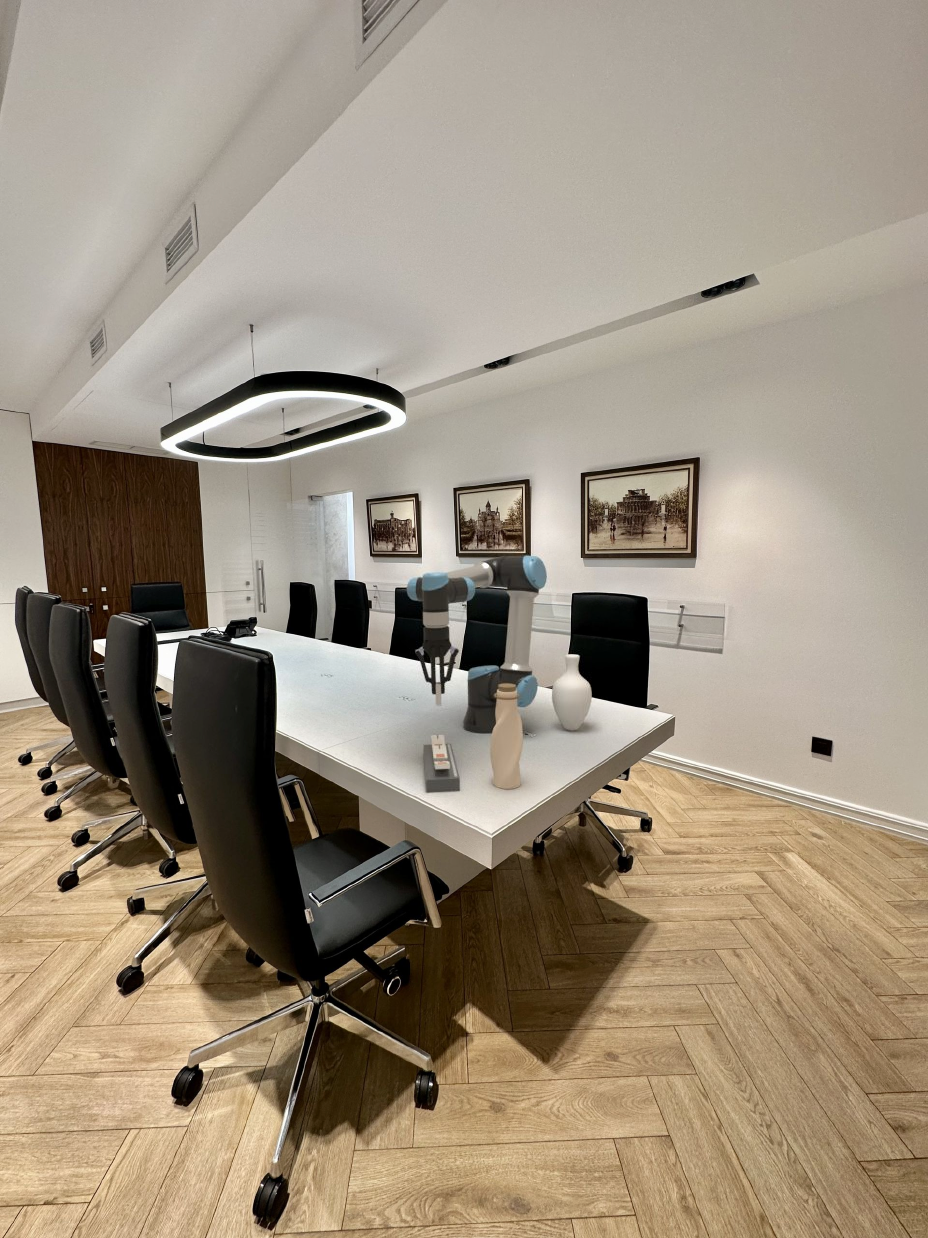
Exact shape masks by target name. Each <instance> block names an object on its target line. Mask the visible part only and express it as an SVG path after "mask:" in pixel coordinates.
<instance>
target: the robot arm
mask: <svg viewBox="0 0 928 1238" xmlns="http://www.w3.org/2000/svg"><path fill="white" fill-rule="evenodd" d="M547 574H548V573H547V569H546V565H545V562H544V561H543V560H542V558H540V557H538V556H534V555H509V556H508V555H502V556H497V557H494V558H490V559H486V560H483V561H479V562H476V563H475V564H474V565H472V566H469V567H465V568H462V569H456V570H452V571H447V572H426V573H423V575H422V577H421V576H418V577H412V578H410V579H409V581H408V582H407V585H406V593H407V596H408V597H409V599H411V600H412V601H416V602H417V601H418V602H422V608H423V609H422V623H423V625H424V627H423V642H422V646H421V647H419V648H418V649H415V652H414V653H415V655H416V656H417V657H418V659H419V663H420V666H421V669H422V673H423V677H424V680H425V682H426V683H429V684H431V693H432V695H435V705H436V707H441V706H442V695H445V693H446V689H445V688H446V685H445V684H446V683H447V682H450V681H451V680H452V677H453V676H452V675H453V671H454V666H455V661H456V657H457V656H458V654H459V653H460V650H459V648H458V647H455V646H453V645H452V643H451V640H450V638H451V637H450V626H449V624H450V612H449V610H450V609H449V607H450V606H449V605H450V604H457V603H458V604H459V603H465V602H468V601H471V600H472V599H473V597H475V593H476V589H477V588H478V587H479V588H481V589H485V588H502V589H503V588H505V589H506V593H507V594H508V596H509V608H508V621H507V633H506V645H505V657H504V662H503V664H502V665H501V666H500V667H499V666H498V665H483V666H482V665H481V666H476V667H472V668H470V669H469V670H468V672H467V680H466V681H467V709H466V712H465V715H464V719H463V722H462V723H463V724H462V726H463V729H464V730H466V731H469V732H471V733H477V734H478V733H480V734H489V733H492V732H493V729H494V727H495V725H496V716H495V710H496V703H497V698H495V697H494V694H495V693H497V690H498V685H499V684H505V683H508V684H515V685H516V690H517V693H518V694H519V695H520V696H519V698H517V708H518V707H519V708H526V707H528V706H530V705H531V704H532V703H533V701H534V700H535V698H536V696H537V692H538V683H539V682H538V679H537V677H536V676H534V675H533V669H532V668H531V666H530V664H529V662H530V651H531V642H532V641H531V639H532V627H533V615H534V605H535V603H534V602H535V598H537V597H538V596H539V593H540V590H541V589H543V588H544V587H545V586H546V583H547V577H548V576H547ZM424 651H425V653H426V654H427V655H428V657H429V659H430V675H429V672H428V669H427V666H426V662H425V658H424V655H425V653H424ZM448 652H449V653H450V657H449V661H448V666H447V669H446V676H445V657H446V655H447V654H448ZM436 658H439V659H438V661H439V681H437V674H436V673H437V672H436V671H437V670H436V669H437V667H436ZM496 696H497V695H496Z"/></svg>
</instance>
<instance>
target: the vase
mask: <svg viewBox="0 0 928 1238" xmlns="http://www.w3.org/2000/svg"><path fill="white" fill-rule="evenodd" d="M580 657H581V655H579V654H571V653H570V654H565V655H564V658H565V664H566V665H565V671H564V673H563V674H562V675H561V676H560V677H559V678H557V679H556V680H555V681H554V683H553V686H552V688H551V689H552V690H551V700H552V706H553V709H554V712H555V714H556V716H557V718H558V721H559V722H560V724H561V726H562V727H563V728H564V730H566V731H571V732H573V731H574V732H575V731H578V729H580V728H581V726H582V724H583V723H584V721H585V719H586V717H587V716H588V714H589V711H590V708H591V704H592V697H593V696H592V695H593V694H592V687H591V684H590V683H589V681H587V679H585V678H584V677H583V676H582V675H581V674H580V671H579V662H580Z"/></svg>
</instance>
